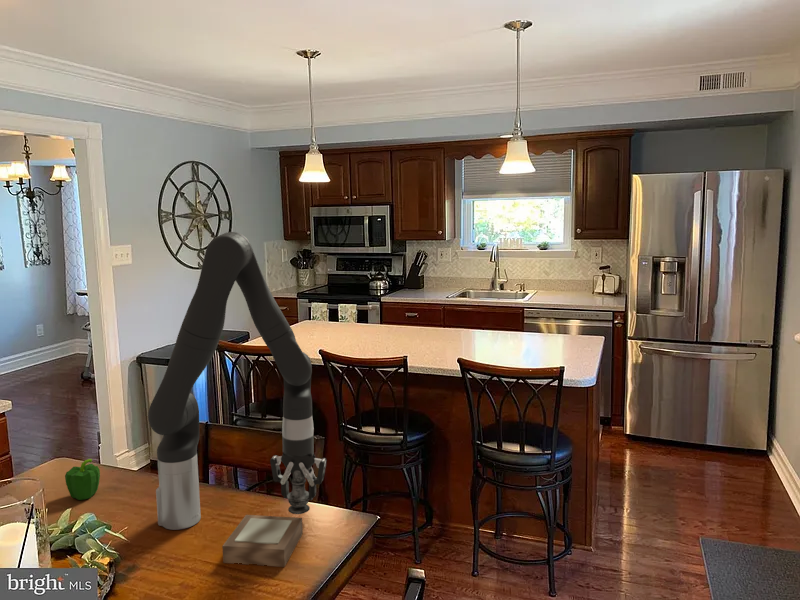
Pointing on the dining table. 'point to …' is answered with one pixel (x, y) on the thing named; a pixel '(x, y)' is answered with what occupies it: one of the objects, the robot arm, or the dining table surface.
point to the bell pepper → (83, 480)
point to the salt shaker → (298, 495)
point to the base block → (263, 540)
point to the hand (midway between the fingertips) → (298, 497)
